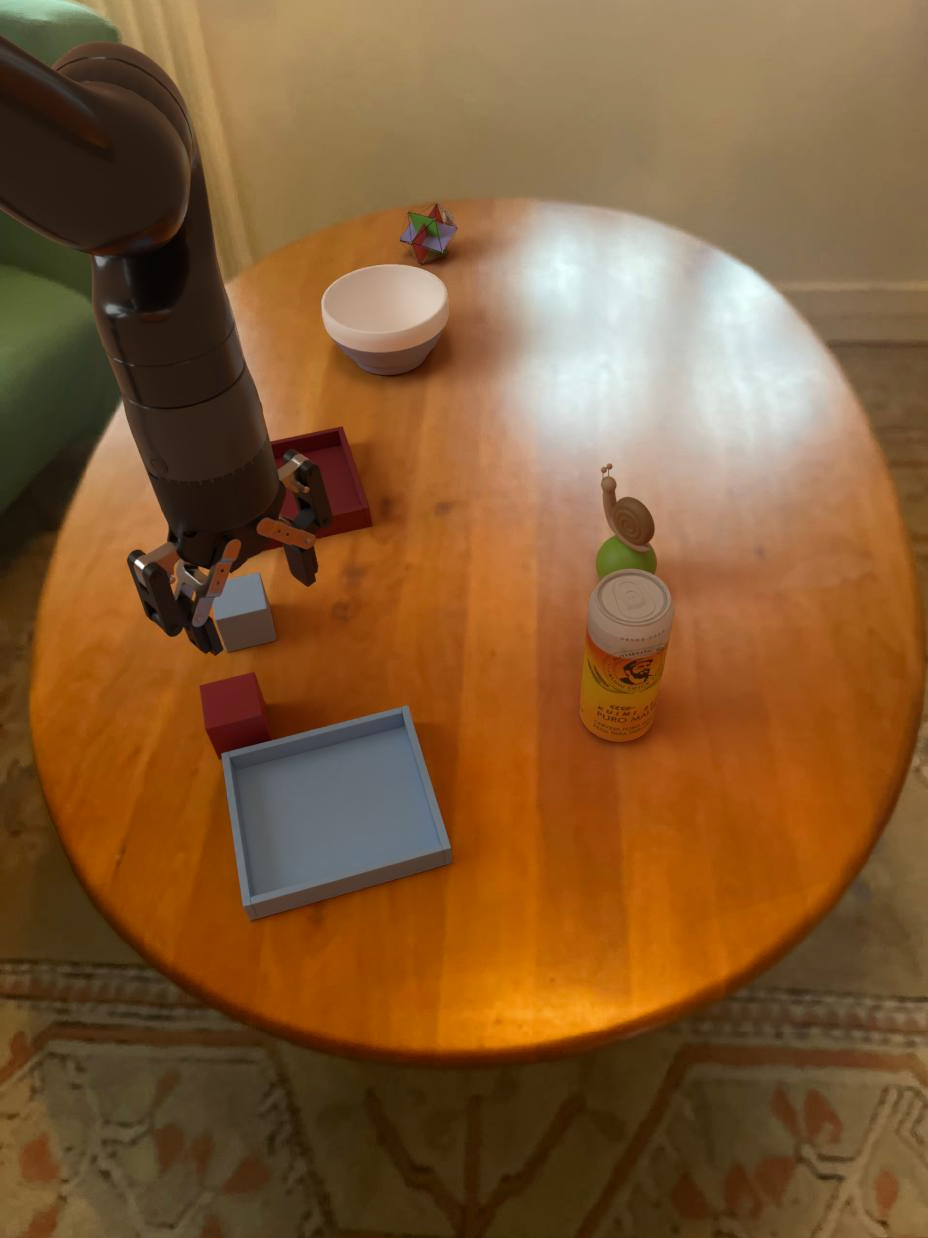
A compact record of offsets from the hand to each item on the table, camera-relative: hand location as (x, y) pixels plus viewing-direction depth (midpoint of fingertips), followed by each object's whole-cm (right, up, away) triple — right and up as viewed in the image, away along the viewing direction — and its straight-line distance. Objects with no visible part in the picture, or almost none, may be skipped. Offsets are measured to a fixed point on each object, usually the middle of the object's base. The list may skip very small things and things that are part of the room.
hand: (258, 612), depth 69 cm
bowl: (+6, +31, +44) cm, 54 cm away
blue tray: (+5, -16, +5) cm, 17 cm away
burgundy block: (-4, -10, +11) cm, 15 cm away
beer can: (+27, -9, +10) cm, 30 cm away
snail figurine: (+29, +3, +20) cm, 36 cm away
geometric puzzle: (+10, +48, +58) cm, 76 cm away
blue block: (-5, -1, +18) cm, 19 cm away
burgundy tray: (-3, +12, +29) cm, 31 cm away
